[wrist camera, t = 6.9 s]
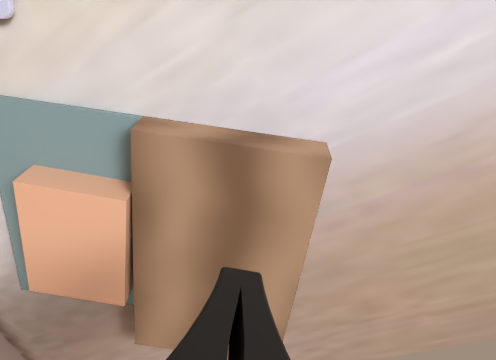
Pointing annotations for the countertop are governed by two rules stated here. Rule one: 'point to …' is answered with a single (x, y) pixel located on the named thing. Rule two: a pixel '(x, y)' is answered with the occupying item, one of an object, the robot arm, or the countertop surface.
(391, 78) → the countertop surface
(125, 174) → the mat
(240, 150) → the deck
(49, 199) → the tile
